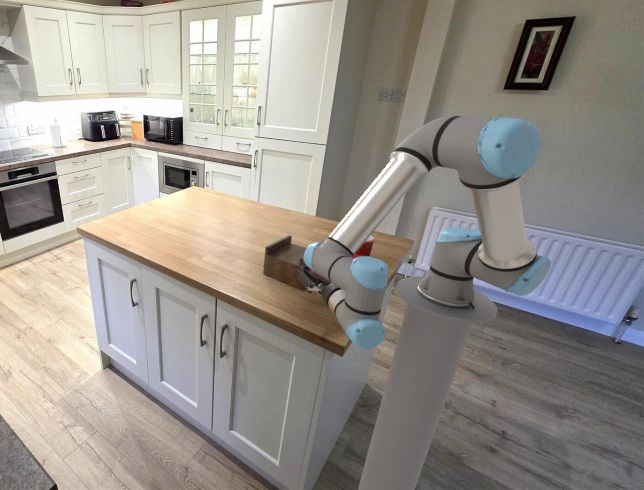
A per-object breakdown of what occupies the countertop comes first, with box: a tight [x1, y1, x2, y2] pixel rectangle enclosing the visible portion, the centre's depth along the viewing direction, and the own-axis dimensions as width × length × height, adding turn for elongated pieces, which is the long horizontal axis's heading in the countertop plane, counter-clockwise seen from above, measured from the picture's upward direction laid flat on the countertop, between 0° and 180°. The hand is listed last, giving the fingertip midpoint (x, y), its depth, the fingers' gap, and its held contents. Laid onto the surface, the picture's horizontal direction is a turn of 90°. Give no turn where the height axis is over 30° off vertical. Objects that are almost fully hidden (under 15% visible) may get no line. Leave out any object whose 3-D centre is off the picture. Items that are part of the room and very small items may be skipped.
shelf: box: [262, 234, 307, 291], centre depth 124 cm, size 16×16×11 cm
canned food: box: [352, 234, 375, 259], centre depth 134 cm, size 8×8×11 cm
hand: (312, 262), depth 111 cm, fingers closed on soda can, 7 cm apart
